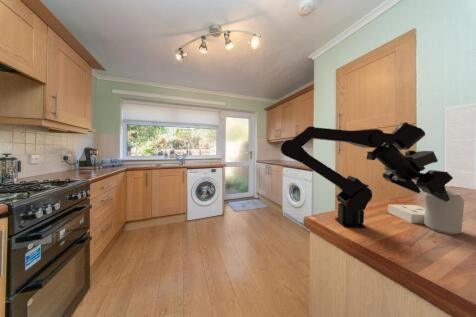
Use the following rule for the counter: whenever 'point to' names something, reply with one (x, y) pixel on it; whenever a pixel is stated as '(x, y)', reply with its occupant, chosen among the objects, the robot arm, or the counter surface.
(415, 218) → the socket block
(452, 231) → the can
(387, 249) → the counter surface
